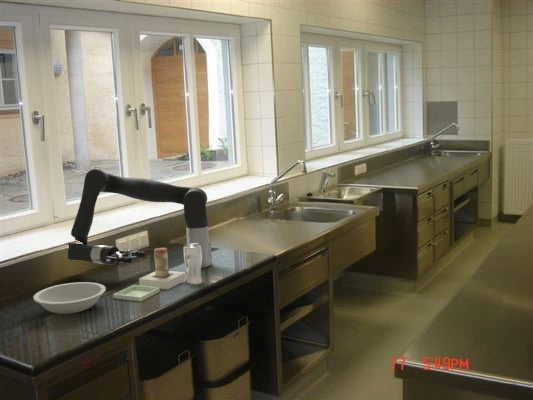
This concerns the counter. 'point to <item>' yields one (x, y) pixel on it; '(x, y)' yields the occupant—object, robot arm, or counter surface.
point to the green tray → (136, 293)
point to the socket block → (163, 280)
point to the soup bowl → (69, 297)
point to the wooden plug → (161, 263)
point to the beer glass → (193, 263)
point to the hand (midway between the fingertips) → (138, 257)
